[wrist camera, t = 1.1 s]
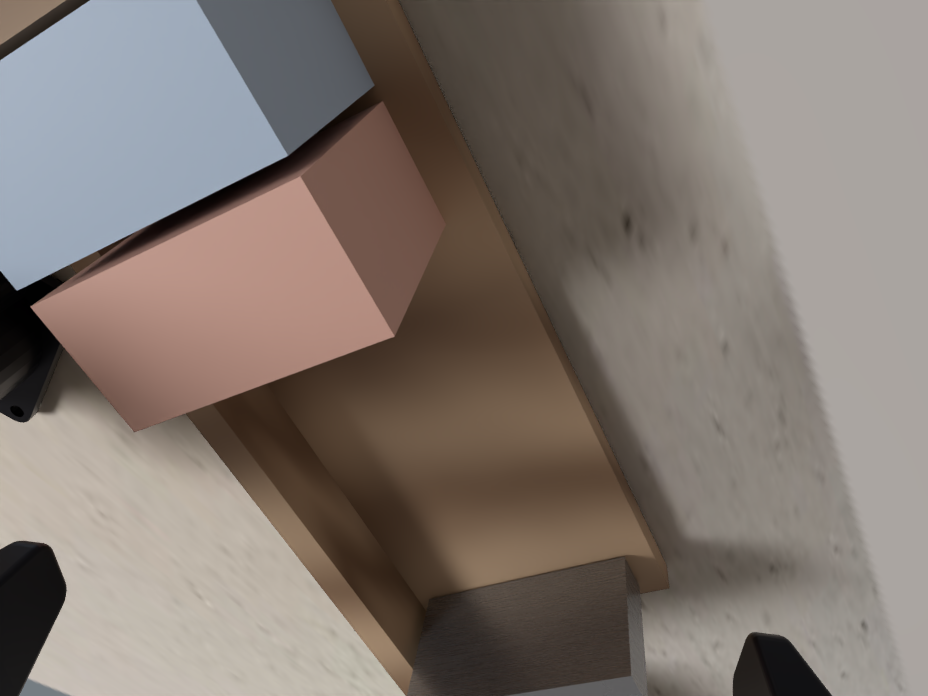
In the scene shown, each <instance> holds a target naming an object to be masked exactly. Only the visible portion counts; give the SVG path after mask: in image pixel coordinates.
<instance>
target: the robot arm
mask: <svg viewBox="0 0 928 696" xmlns="http://www.w3.org/2000/svg"><path fill="white" fill-rule="evenodd" d="M62 284H63V283H62V282H60V281H59V280H57V279H55V278H54V277H52V276H50V275H48V276H46V277H44V278H42V279H40V280H38V281H36V282H34V283H32V284H30V285H28V286H26V287H24V288H22V289H20V290H18V291H17V290H16V289H15V288H14V287H13V285H12V284H11V283H10V282H9V281H8V279H7V278H6V277H5V276H4V275H3V273H2V272H1V271H0V413H2V414H4V415H6V416H8V417H9V418H11V419H13V420H15V421H18V422H27V421H29V420H30V419H31V418H32V417H33V416H34V415H35V414H36V413H37V411H38V409H39V407H40V404H41V402H42V399H43V397H44V394H45V392H46V389H47V387H48V384H49V382H50V379H51V377H52V375H53V372H54V370H55V367H56V365H57V362H58V360H59V357H60V355H61V352H62V350H63V346H62V344H61V343H60V342H59V341H58V340H57V338H56V337H55V336H54V335H53V334H52V332H51V331H50V330H49V329H48V328H47V326H46V325H45V324H44V323H43V322H42V320H41V319H40V318H39V317H38V316H37V314H36V313H35V312H34V311H33V309H32V308H31V306H32V305H33V304H35V303H36V302H38V301H39V300H41V299H42V298H43V297H45V296H46V295H48V294H49V293H50V292H52V291H53V290H55V289H56V288H58V287H59V286H60V285H62ZM65 597H66V582H65V580H64V577H63V575H62V572H61V570H60V567H59V565H58V562H57V560H56V557H55V555H54V552H53V550H52V548H51V547H50V546H48V545H47V544H44V543H37V542H29V541H17V542H14V543H11V544H9V545H7V546H6V547H4V548H2V549H0V696H19V695H20V693H21V691H22V689H23V687H24V684H25V682H26V680H27V678H28V676H29V674H30V672H31V670H32V668H33V666H34V664H35V662H36V660H37V658H38V656H39V653H40V651H41V649H42V647H43V645H44V643H45V641H46V639H47V637H48V635H49V633H50V631H51V629H52V627H53V625H54V622H55V620H56V618H57V616H58V614H59V612H60V610H61V608H62V606H63V603H64V601H65ZM733 696H832V695H831V694H830V692H829V691H828V690H827V689H826V687H825V686H824V685H823V683H822V682H821V681H820V680H819V678H818V677H817V676H816V674H815V673H814V672H813V670H812V669H811V668H810V667H809V665H808V664H807V663H806V661H805V660H804V659H803V658H802V656H801V655H800V654H799V652H798V651H797V650H796V648H795V647H794V646H793V645H792V643H791V642H790V641H789V640H788V639H786V638H785V637H783V636H780V635H774V634H766V633H758V632H753V633H750V634H749V635H748V636H747V638H746V640H745V643H744V646H743V649H742V652H741V655H740V658H739V661H738V664H737V667H736V670H735V673H734V678H733Z"/></svg>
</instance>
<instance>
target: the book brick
mask: <svg viewBox="0 0 928 696" xmlns="http://www.w3.org/2000/svg"><path fill="white" fill-rule="evenodd" d="M445 225H446V223H445V221H444V219H443V218H442V216H441V214H440V212H439V210H438V208H437V206H436V204H435V202H434V200H433V198H432V196H431V194H430V192H429V190H428V188H427V186H426V184H425V182H424V180H423V179H422V177H421V175H420V173H419V171H418V169H417V167H416V165H415V163H414V161H413V159H412V157H411V155H410V153H409V151H408V149H407V147H406V145H405V143H404V142H403V140H402V138H401V136H400V134H399V132H398V130H397V128H396V126H395V124H394V122H393V120H392V118H391V116H390V114H389V112H388V110H387V108H386V106H385V104H384V103H383V101H381V102H379V103H377V104H375V105H373V106H371V107H369V108H367V109H365V110H363V111H362V112H360V113H358V114H356V115H354V116H352V117H350V118H348V119H346V120H344V121H342V122H340V123H338V124H336V125H334V126H332V127H330V128H328V129H326V130H324V131H322V132H320V133H318V134H316V135H314V136H312V137H311V138H309V139H308V140H307V141H306V142H304V143H303V144H302V145H301V146H299V147H298V148H297V149H296V150H295V151H293V152H292V153H291V154H290V155H288V156H287V157H285V158H283V159H281V160H279V161H277V162H275V163H273V164H271V165H268V166H266V167H264V168H262V169H260V170H258V171H256V172H254V173H252V174H250V175H248V176H246V177H244V178H242V179H240V180H238V181H236V182H234V183H232V184H230V185H228V186H226V187H224V188H222V189H220V190H218V191H216V192H214V193H212V194H210V195H208V196H206V197H204V198H202V199H200V200H198V201H196V202H194V203H192V204H190V205H188V206H186V207H184V208H182V209H180V210H178V211H176V212H174V213H172V214H170V215H168V216H166V217H164V218H162V219H160V220H158V221H156V222H154V223H152V224H150V225H148V226H146V227H144V228H142V229H140V230H138V231H137V232H135V233H134V234H132V235H131V236H130V237H128V238H127V239H125V240H124V241H123V242H121V243H120V244H118V245H117V246H115V247H114V248H113V249H111V250H110V251H108V252H107V253H106V254H104V255H103V256H101V257H100V258H98V259H97V260H96V261H94V262H93V263H91V264H90V265H89V266H87V267H86V268H84V269H83V270H82V271H80V272H79V273H77V274H76V275H74V276H73V277H72V278H70V279H69V280H67V281H66V282H65V283H63V284H62V285H60V286H59V287H58V288H56V289H55V290H53V291H52V292H50V293H49V294H48V295H46V296H45V297H43V298H42V299H41V300H39V301H38V302H36V303H35V304H33V305H32V306H31V308H32V309H33V311H34V312H35V313H36V314H37V316H38V317H39V318H40V319H41V320H42V322H43V323H44V324H45V325H46V326H47V328H48V329H49V330H50V331H51V332H52V334H53V335H54V336H55V337H56V338H57V340H58V341H59V342H60V343H61V344H62V346H63V347H64V348H65V349H66V350H67V352H68V353H69V354H70V355H71V356H72V358H73V359H74V360H75V361H76V362H77V364H78V365H79V366H80V367H81V369H82V370H83V371H84V372H85V373H86V375H87V376H88V377H89V378H90V379H91V381H92V382H93V383H94V384H95V385H96V387H97V388H98V389H99V390H100V391H101V393H102V394H103V395H104V396H105V397H106V399H107V400H108V401H109V402H110V403H111V405H112V406H113V407H114V408H115V409H116V411H117V412H118V413H119V414H120V415H121V417H122V418H123V419H124V420H125V422H126V423H127V424H128V425H129V426H130V428H131V429H132V430H133V431H134V432H137V431H139V430H142V429H145V428H147V427H150V426H153V425H156V424H158V423H161V422H164V421H166V420H169V419H172V418H175V417H177V416H180V415H183V414H185V413H188V412H191V411H194V410H196V409H199V408H202V407H204V406H207V405H210V404H213V403H215V402H218V401H221V400H223V399H226V398H229V397H232V396H234V395H237V394H240V393H242V392H245V391H248V390H251V389H253V388H256V387H259V386H261V385H264V384H267V383H270V382H272V381H275V380H278V379H280V378H283V377H286V376H289V375H291V374H294V373H297V372H299V371H302V370H305V369H308V368H310V367H313V366H316V365H318V364H321V363H324V362H327V361H329V360H332V359H335V358H337V357H340V356H343V355H346V354H348V353H351V352H354V351H356V350H359V349H362V348H365V347H367V346H370V345H373V344H376V343H378V342H381V341H384V340H386V339H389V338H392V337H395V335H396V333H397V330H398V328H399V326H400V324H401V322H402V319H403V317H404V315H405V313H406V311H407V308H408V306H409V304H410V302H411V300H412V297H413V295H414V293H415V291H416V289H417V287H418V284H419V282H420V280H421V278H422V276H423V273H424V271H425V269H426V267H427V265H428V262H429V260H430V258H431V256H432V254H433V251H434V249H435V247H436V245H437V243H438V241H439V238H440V236H441V234H442V232H443V230H444V227H445Z"/></svg>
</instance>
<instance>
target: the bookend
mask: <svg viewBox="0 0 928 696" xmlns="http://www.w3.org/2000/svg"><path fill="white" fill-rule="evenodd" d="M407 696H648V691H647V678H646V664H645V651H644V638H643V625H642V611H641V598H640V586H639V584H638V582H637V580H636V578H635V576H634V574H633V572H632V570H631V568H630V566H629V564H628V562H627V560H626V558H625V557H620V558H615V559H611V560H606V561H602V562H597V563H593V564H588V565H583V566H579V567H574V568H570V569H565V570H560V571H556V572H551V573H547V574H542V575H537V576H533V577H528V578H524V579H519V580H515V581H510V582H505V583H501V584H496V585H492V586H487V587H482V588H478V589H473V590H469V591H464V592H460V593H455V594H450V595H446V596H441V597H437V598H432V599H429V602H428V607H427V611H426V615H425V620H424V624H423V628H422V632H421V637H420V641H419V645H418V650H417V654H416V658H415V663H414V667H413V671H412V676H411V680H410V684H409V688H408V693H407Z"/></svg>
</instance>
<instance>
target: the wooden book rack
mask: <svg viewBox="0 0 928 696" xmlns="http://www.w3.org/2000/svg"><path fill="white" fill-rule="evenodd" d="M88 1H90V0H0V60H1V59H3V58H4V57H6V56H7V55H9V54H10V53H12V52H13V51H15V50H16V49H18V48H19V47H21V46H22V45H24V44H25V43H27V42H28V41H30V40H31V39H33V38H34V37H36V36H37V35H39V34H40V33H42V32H43V31H45V30H46V29H48V28H49V27H51V26H52V25H54V24H55V23H57V22H58V21H60V20H61V19H63V18H64V17H66V16H67V15H69V14H70V13H72V12H73V11H75V10H76V9H78V8H79V7H81V6H82V5H84V4H85V3H87V2H88ZM331 1H332V3H333V5H334V7H335V9H336V11H337V13H338V15H339V17H340V19H341V21H342V23H343V25H344V27H345V29H346V31H347V32H348V34H349V36H350V38H351V40H352V42H353V44H354V46H355V48H356V50H357V52H358V54H359V56H360V58H361V60H362V62H363V64H364V66H365V68H366V70H367V71H368V73H369V75H370V77H371V79H372V81H373V83H374V85H375V86H373V87H372V88H371V89H370V90H368V91H367V92H366V93H365V94H364V95H362V96H361V97H360V98H359V99H357V100H356V101H355V102H354V103H352V104H351V105H350V106H349V107H347V108H346V109H345V110H344V111H343V112H341V113H340V114H339V115H338V116H336V117H335V118H334V119H333V120H331V121H330V122H329V123H328V124H327V125H325V126H324V127H323V128H322V129H320V130H319V131H318V132H317V133H315V134H314V135H316V134H318V133H320V132H322V131H324V130H326V129H328V128H330V127H332V126H334V125H336V124H338V123H340V122H342V121H344V120H346V119H348V118H350V117H352V116H354V115H356V114H358V113H360V112H362V111H363V110H365V109H367V108H369V107H371V106H373V105H375V104H377V103H379V102H381V101H383V103H384V104H385V106H386V108H387V110H388V112H389V114H390V116H391V118H392V120H393V122H394V124H395V126H396V128H397V130H398V132H399V134H400V136H401V138H402V140H403V142H404V143H405V145H406V147H407V149H408V151H409V153H410V155H411V157H412V159H413V161H414V163H415V165H416V167H417V169H418V171H419V173H420V175H421V177H422V179H423V180H424V182H425V184H426V186H427V188H428V190H429V192H430V194H431V196H432V198H433V200H434V202H435V204H436V206H437V208H438V210H439V212H440V214H441V216H442V218H443V219H444V221H445V223H446V225H445V227H444V230H443V232H442V234H441V236H440V238H439V241H438V243H437V245H436V247H435V249H434V251H433V254H432V256H431V258H430V260H429V262H428V265H427V267H426V269H425V271H424V273H423V276H422V278H421V280H420V282H419V284H418V287H417V289H416V291H415V293H414V295H413V297H412V300H411V302H410V304H409V306H408V308H407V311H406V313H405V315H404V317H403V319H402V322H401V324H400V326H399V328H398V330H397V333H396V335H395V337H392V338H389V339H386V340H384V341H381V342H378V343H376V344H373V345H370V346H367V347H365V348H362V349H359V350H356V351H354V352H351V353H348V354H346V355H343V356H340V357H337V358H335V359H332V360H329V361H327V362H324V363H321V364H318V365H316V366H313V367H310V368H308V369H305V370H302V371H299V372H297V373H294V374H291V375H289V376H286V377H283V378H280V379H278V380H275V381H272V382H270V383H267V384H264V385H261V386H259V387H256V388H253V389H251V390H248V391H245V392H242V393H240V394H237V395H234V396H232V397H229V398H226V399H223V400H221V401H218V402H215V403H213V404H210V405H207V406H204V407H202V408H199V409H196V410H194V411H191V412H188V413H186V415H187V416H188V417H189V418H190V420H191V421H192V422H193V424H194V425H195V426H196V427H197V429H198V430H199V431H200V433H201V434H202V435H203V436H204V438H205V439H206V440H207V441H208V443H209V444H210V445H211V447H212V448H213V449H214V450H215V452H216V453H217V454H218V456H219V457H220V458H221V459H222V461H223V462H224V463H225V465H226V466H227V467H228V468H229V470H230V471H231V472H232V474H233V475H234V476H235V477H236V479H237V480H238V481H239V482H240V484H241V485H242V486H243V488H244V489H245V490H246V491H247V493H248V494H249V495H250V497H251V498H252V499H253V500H254V502H255V503H256V504H257V506H258V507H259V508H260V509H261V511H262V512H263V513H264V515H265V516H266V517H267V518H268V520H269V521H270V522H271V524H272V525H273V526H274V527H275V529H276V530H277V531H278V532H279V534H280V535H281V536H282V538H283V539H284V540H285V541H286V543H287V544H288V545H289V547H290V548H291V549H292V550H293V552H294V553H295V554H296V556H297V557H298V558H299V559H300V561H301V562H302V563H303V565H304V566H305V567H306V568H307V570H308V571H309V572H310V573H311V575H312V576H313V577H314V579H315V580H316V581H317V582H318V584H319V585H320V586H321V588H322V589H323V590H324V591H325V593H326V594H327V595H328V597H329V598H330V599H331V600H332V602H333V603H334V604H335V606H336V607H337V608H338V609H339V611H340V612H341V613H342V614H343V616H344V617H345V618H346V620H347V621H348V622H349V623H350V625H351V626H352V627H353V629H354V630H355V631H356V632H357V634H358V635H359V636H360V638H361V639H362V640H363V641H364V643H365V644H366V645H367V647H368V648H369V649H370V650H371V652H372V653H373V654H374V656H375V657H376V658H377V659H378V661H379V662H380V663H381V664H382V666H383V667H384V668H385V670H386V671H387V672H388V673H389V675H390V676H391V677H392V679H393V680H394V681H395V682H396V684H397V685H398V686H399V688H400V689H401V690H402V691H403V693H404V694H405V695H406V696H407V693H408V688H409V684H410V680H411V676H412V671H413V667H414V663H415V658H416V654H417V650H418V645H419V641H420V637H421V632H422V628H423V624H424V620H425V615H426V611H427V607H428V602H429V599H432V598H437V597H441V596H446V595H450V594H455V593H460V592H464V591H469V590H473V589H478V588H482V587H487V586H492V585H496V584H501V583H505V582H510V581H515V580H519V579H524V578H528V577H533V576H537V575H542V574H547V573H551V572H556V571H560V570H565V569H570V568H574V567H579V566H583V565H588V564H593V563H597V562H602V561H606V560H611V559H615V558H620V557H625V558H626V560H627V562H628V564H629V566H630V568H631V570H632V572H633V574H634V576H635V578H636V580H637V582H638V584H639V586H640V594H642V593H647V592H652V591H658V590H663V589H668V588H669V580H668V572H667V565H666V563H665V561H664V559H663V557H662V555H661V553H660V551H659V549H658V546H657V544H656V542H655V540H654V538H653V536H652V534H651V532H650V530H649V527H648V525H647V523H646V521H645V519H644V517H643V515H642V513H641V511H640V509H639V506H638V504H637V502H636V500H635V498H634V496H633V494H632V492H631V490H630V487H629V485H628V483H627V481H626V479H625V477H624V475H623V473H622V471H621V468H620V466H619V464H618V462H617V460H616V458H615V456H614V454H613V452H612V450H611V447H610V445H609V443H608V441H607V439H606V437H605V435H604V433H603V431H602V428H601V426H600V424H599V422H598V420H597V418H596V416H595V414H594V412H593V410H592V407H591V405H590V403H589V401H588V399H587V397H586V395H585V393H584V391H583V388H582V386H581V384H580V382H579V380H578V378H577V376H576V374H575V372H574V370H573V367H572V365H571V363H570V361H569V359H568V357H567V355H566V353H565V351H564V348H563V346H562V344H561V342H560V340H559V338H558V336H557V334H556V332H555V329H554V327H553V325H552V323H551V321H550V319H549V317H548V315H547V313H546V311H545V308H544V306H543V304H542V302H541V300H540V298H539V296H538V294H537V292H536V289H535V287H534V285H533V283H532V281H531V279H530V277H529V275H528V273H527V271H526V268H525V266H524V264H523V262H522V260H521V258H520V256H519V254H518V252H517V249H516V247H515V245H514V243H513V241H512V239H511V237H510V235H509V233H508V231H507V228H506V226H505V224H504V222H503V220H502V218H501V216H500V214H499V212H498V209H497V207H496V205H495V203H494V201H493V199H492V197H491V195H490V193H489V191H488V188H487V186H486V184H485V182H484V180H483V178H482V176H481V174H480V172H479V169H478V167H477V165H476V163H475V161H474V159H473V157H472V155H471V153H470V150H469V148H468V146H467V144H466V142H465V140H464V138H463V136H462V134H461V132H460V129H459V127H458V125H457V123H456V121H455V119H454V117H453V115H452V113H451V110H450V108H449V106H448V104H447V102H446V100H445V98H444V96H443V94H442V92H441V89H440V87H439V85H438V83H437V81H436V79H435V77H434V75H433V73H432V70H431V68H430V66H429V64H428V62H427V60H426V58H425V56H424V54H423V52H422V49H421V47H420V45H419V43H418V41H417V39H416V37H415V35H414V33H413V30H412V28H411V26H410V24H409V22H408V20H407V18H406V16H405V14H404V11H403V9H402V7H401V5H400V3H399V1H398V0H331ZM314 135H313V136H314ZM136 232H137V231H136ZM134 233H135V232H134ZM134 233H132V234H134ZM132 234H130V235H128V236H126V237H124V238H122V239H120V240H118V241H116V242H114V243H112V244H110V245H108V246H106V247H104V248H102V249H100V250H98V251H96V252H94V253H92V254H90V255H88V256H86V257H84V258H82V259H80V260H78V261H76V262H74V263H72V264H70V266H71V267H72V268H73V270H74V271H75V272H76V274H77V273H79V272H80V271H82V270H83V269H84V268H86V267H87V266H89V265H90V264H91V263H93V262H94V261H96V260H97V259H98V258H100V257H101V256H103V255H104V254H106V253H107V252H108V251H110V250H111V249H113V248H114V247H115V246H117V245H118V244H120V243H121V242H123V241H124V240H125V239H127V238H128V237H130V236H131V235H132Z"/></svg>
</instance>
